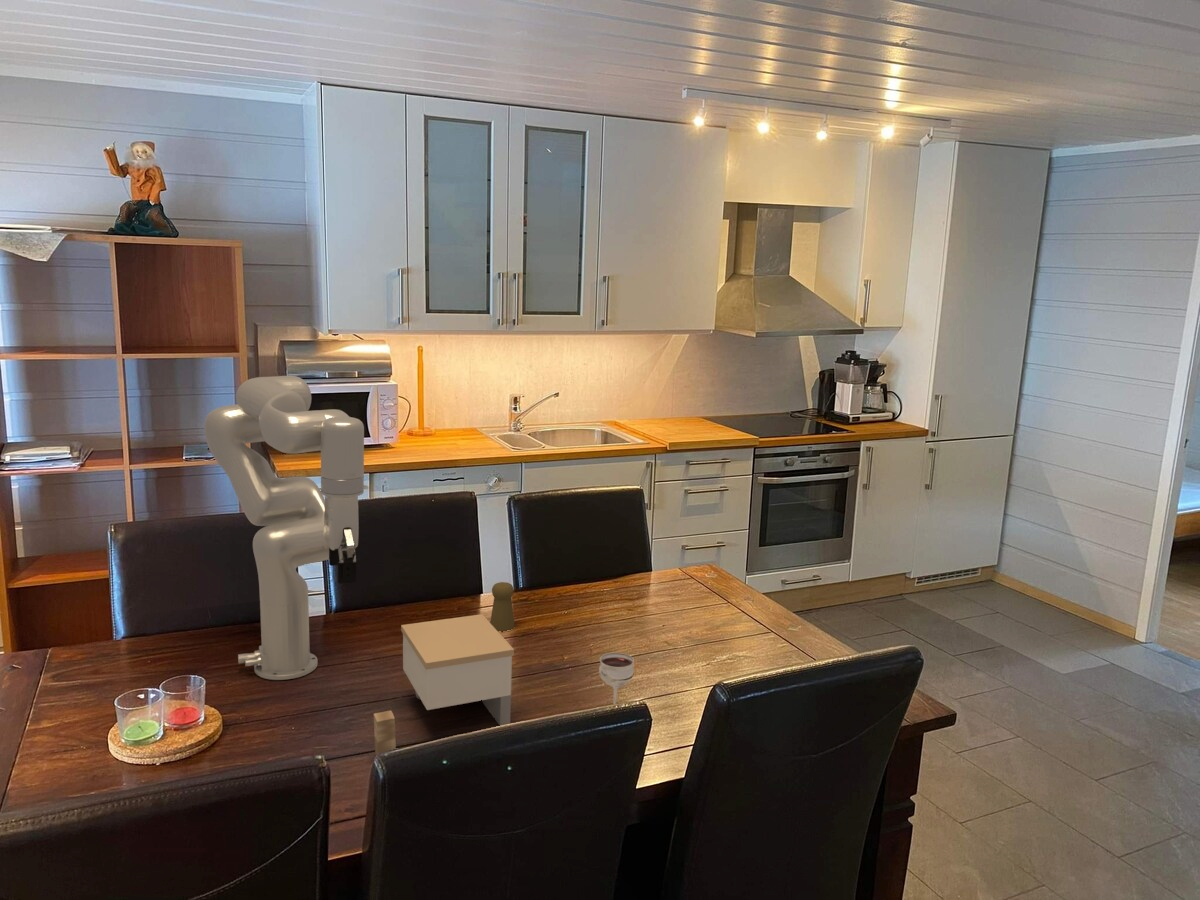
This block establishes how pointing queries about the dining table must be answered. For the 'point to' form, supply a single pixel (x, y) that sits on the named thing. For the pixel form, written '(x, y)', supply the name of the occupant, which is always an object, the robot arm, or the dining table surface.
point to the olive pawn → (502, 607)
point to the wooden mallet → (384, 731)
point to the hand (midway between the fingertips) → (342, 573)
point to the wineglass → (616, 670)
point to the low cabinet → (459, 664)
